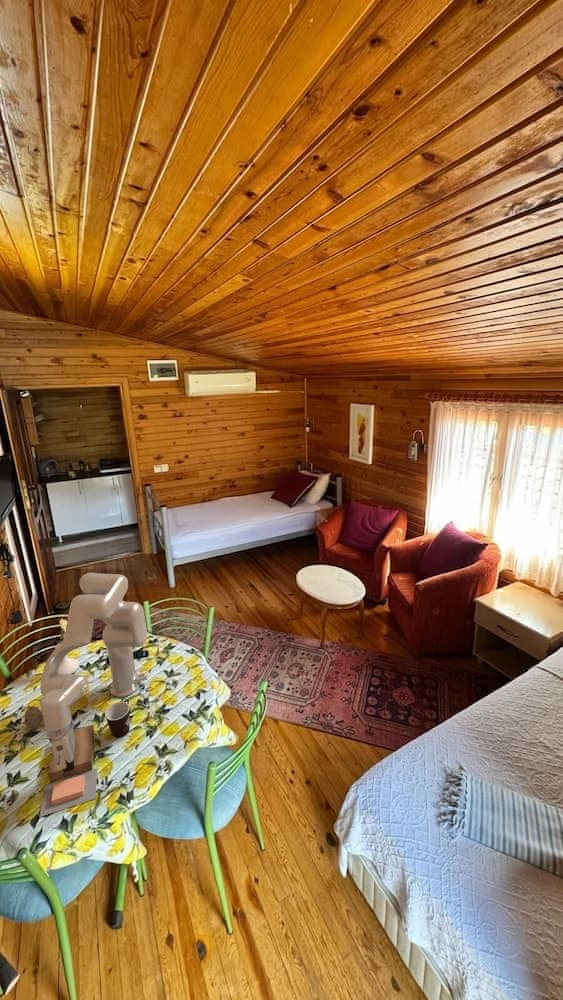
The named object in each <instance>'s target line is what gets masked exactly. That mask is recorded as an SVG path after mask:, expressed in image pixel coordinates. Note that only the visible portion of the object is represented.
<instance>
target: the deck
mask: <svg viewBox="0 0 563 1000" xmlns="http://www.w3.org/2000/svg"><path fill="white" fill-rule="evenodd" d="M73 730H74V734H75V739H76V741H75V751H74V758H73V761H74V769H73V770H70V771H67V772H63V769H62V767H61V761H60V763H59V765H57V764H56V762H55V758H54V753H53V747H52V748H51V749H52V750H51V755H50V761H49V768H48V771H47V773H48V774H47V775H48V779H49V784H50V783H53V782H56V781H59V780H62V779H65V778H69V777H72V776H75V775H78V774H81V773H85V772H88V771H91V770H94V769H93V766H94V752H95V750H94V749H95V733H96V731H95V726H94V724H91V725H87V726H83V727H80V728H76V729H73Z"/></svg>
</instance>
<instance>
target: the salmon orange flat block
mask: <svg viewBox="0 0 563 1000" xmlns="http://www.w3.org/2000/svg"><path fill="white" fill-rule="evenodd" d="M84 786H85V776H84V775H81V776H77V777H74V778H71V779H67V780H64V781H61V782H57V783H54V788H53V794H52V800H51V801H52V805H55V804H58V803H61V802H64V801H68V800H71V799H74V798H77V797H80V796H83V795H84Z"/></svg>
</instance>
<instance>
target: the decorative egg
mask: <svg viewBox="0 0 563 1000" xmlns="http://www.w3.org/2000/svg"><path fill="white" fill-rule="evenodd" d="M43 723H44V720H43V716H42V711H41V709H39V708H38V707H37V706H35V705H31V706H29V707H27V709H26V711H25V714H24V725H25V727H26V728H27V729H28V730H30V731H35V730H38V729H39V728H40V727H41V725H42V724H43Z"/></svg>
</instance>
